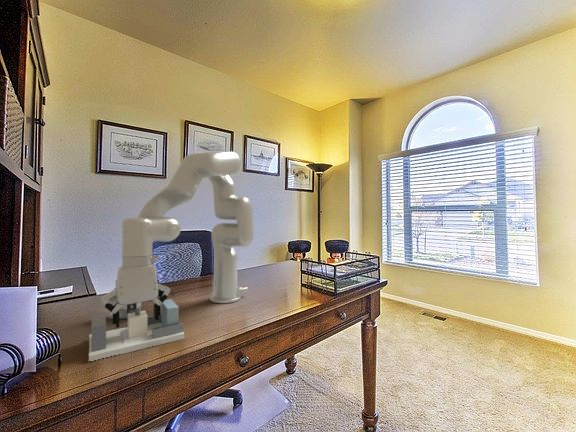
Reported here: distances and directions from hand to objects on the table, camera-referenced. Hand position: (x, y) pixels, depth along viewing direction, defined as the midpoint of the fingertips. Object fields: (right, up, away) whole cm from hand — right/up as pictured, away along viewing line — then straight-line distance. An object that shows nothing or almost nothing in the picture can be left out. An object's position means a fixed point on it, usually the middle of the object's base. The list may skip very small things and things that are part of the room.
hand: (137, 322), depth 78 cm
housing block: (0, -3, 0) cm, 3 cm away
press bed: (0, -3, 0) cm, 3 cm away
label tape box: (-13, -5, +17) cm, 22 cm away
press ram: (+7, -3, +5) cm, 9 cm away
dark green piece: (-13, -5, +44) cm, 46 cm away
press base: (0, -5, 0) cm, 5 cm away
